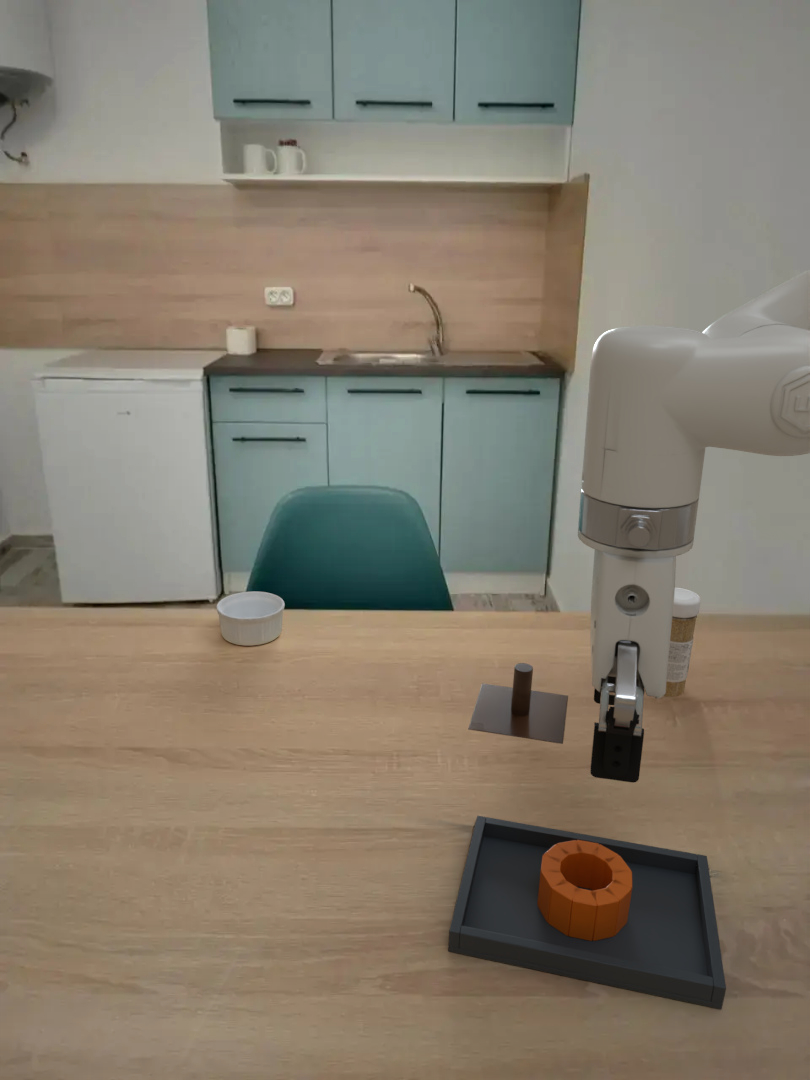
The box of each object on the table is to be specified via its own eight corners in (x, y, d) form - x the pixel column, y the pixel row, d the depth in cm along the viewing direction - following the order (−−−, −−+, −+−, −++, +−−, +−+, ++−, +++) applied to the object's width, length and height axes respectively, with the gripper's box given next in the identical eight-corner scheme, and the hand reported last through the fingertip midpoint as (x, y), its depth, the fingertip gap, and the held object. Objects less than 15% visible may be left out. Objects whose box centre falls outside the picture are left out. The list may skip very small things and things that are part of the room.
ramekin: (221, 619, 114) (219, 591, 113) (286, 618, 115) (285, 589, 114) (214, 650, 106) (212, 619, 105) (284, 648, 107) (283, 617, 106)
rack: (567, 706, 96) (572, 652, 93) (561, 755, 86) (568, 697, 84) (481, 694, 98) (484, 640, 95) (467, 741, 88) (470, 683, 86)
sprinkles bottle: (648, 684, 101) (663, 583, 96) (687, 694, 99) (704, 591, 94) (640, 702, 97) (655, 597, 92) (680, 712, 95) (698, 605, 90)
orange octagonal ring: (626, 883, 69) (631, 848, 68) (627, 948, 62) (633, 912, 61) (541, 867, 70) (545, 833, 69) (534, 930, 64) (537, 894, 63)
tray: (703, 874, 71) (706, 855, 70) (721, 1009, 58) (726, 988, 58) (476, 833, 75) (477, 815, 74) (447, 951, 62) (449, 931, 62)
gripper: (709, 571, 47) (674, 821, 52) (685, 486, 62) (661, 685, 68) (573, 560, 48) (554, 804, 54) (583, 479, 64) (568, 675, 70)
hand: (614, 737), depth 61 cm, fingers open, 9 cm apart
